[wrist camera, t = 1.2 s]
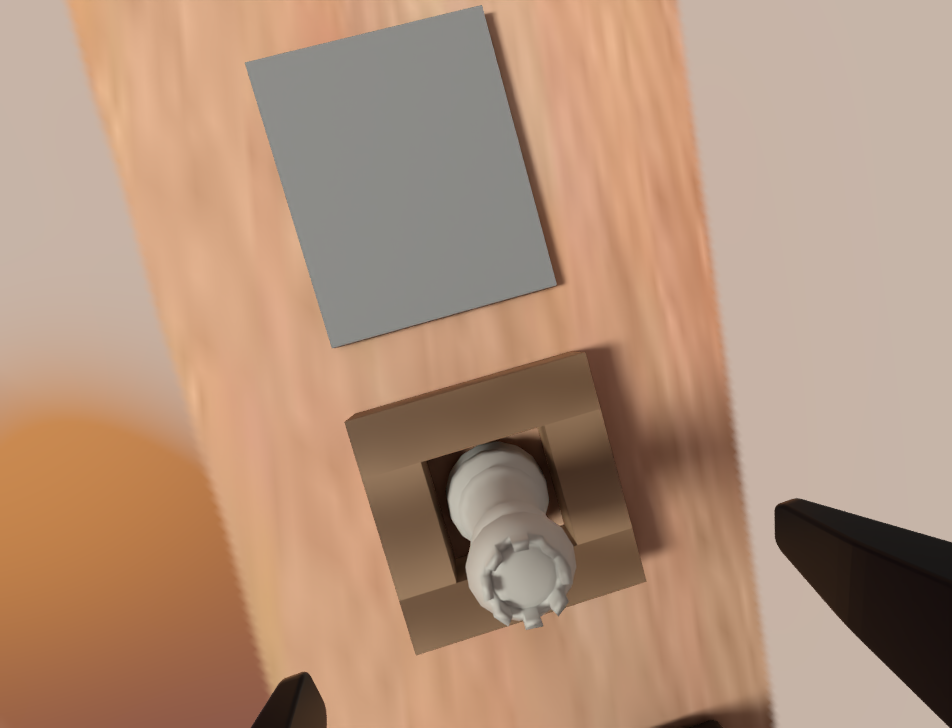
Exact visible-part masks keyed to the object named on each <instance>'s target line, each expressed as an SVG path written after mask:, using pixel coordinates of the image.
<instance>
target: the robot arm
mask: <svg viewBox="0 0 952 728" xmlns="http://www.w3.org/2000/svg"><path fill="white" fill-rule="evenodd" d="M775 539H776V542H777V545H778V547H779V548H780V550H781V551H782V553H783V554H784V555H785V556H786V557H787V558H788V560H789V561H790V562H791V563H792V564H793V565H794V566H795V568H796V569H797V570H798V571H799V572H800V573H801V575H802V576H803V577H804V578H805V579H806V580H807V581H808V583H809V584H810V585H811V586H812V587H813V588H814V589H815V590H816V592H817V593H818V594H819V595H820V596H821V598H822V599H823V600H824V601H825V602H826V603H827V604H828V606H829V607H830V608H831V609H832V610H833V611H834V612H835V614H836V615H837V616H838V617H839V618H840V619H841V620H842V621H843V622H844V623H845V625H846V626H847V627H848V628H849V629H850V630H851V631H852V632H853V633H854V634H855V635H856V636H857V637H858V638H859V639H860V640H861V641H862V642H863V643H864V644H865V645H866V646H867V647H868V648H869V649H870V650H871V651H872V652H874V654H875V655H876V656H877V657H878V658H879V659H880V660H881V661H882V662H883V663H885V664H886V666H888V667H889V668H890V669H891V670H892V671H893V672H894V673H895V674H896V675H897V676H898V677H899V678H900V679H901V680H902V681H903V682H904V683H905V684H906V685H907V686H908V687H909V688H910V689H911V690H912V691H913V692H914V693H915V694H916V695H917V696H918V697H919V698H920V699H921V700H922V701H923V702H924V703H925V704H926V705H927V706H928V707H929V708H930V709H931V710H932V711H933V712H934V713H935V714H936V715H937V716H938V717H939V718H940V719H942V720H943V721H944V722H945V723H946V724H947V725H948V726H949V727H950V728H952V542H948V541H945V540H941V539H938V538H935V537H931V536H928V535H924V534H921V533H917V532H914V531H911V530H907V529H903V528H900V527H897V526H893V525H890V524H886V523H883V522H879V521H875V520H872V519H869V518H865V517H862V516H859V515H855V514H852V513H848V512H845V511H841V510H838V509H834V508H831V507H827V506H824V505H820V504H817V503H813V502H810V501H807V500H803V499H798V498H796V499H791V500H788V501H785V502H783V503H780V504H778V505H777V506H776V507H775ZM251 728H327V715H326V708H325V704H324V701H323V699H322V697H321V695H320V693H319V691H318V689H317V687H316V685H315V684H314V682H313V680H312V678H311V676H310V675H309V673H307V672H301V673H298V674H295V675H292V676H290V677H287V678H285V679H283V680H282V681H281V682H280V683H279V684H278V686H277V687H276V689H275V690H274V692H273V694H272V695H271V697H270V698H269V700H268V701H267V703H266V705H265V706H264V708H263V709H262V711H261V712H260V714H259V716H258V717H257V719H256V720H255V722H254V724H253V725H252V727H251ZM690 728H723V727H722V726H721V724H720V723H719V722H717V721H714V720H711V721H707V722H704V723H701V724H699V725H696V726H693V727H690Z"/></svg>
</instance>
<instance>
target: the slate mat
mask: <svg viewBox="0 0 952 728" xmlns="http://www.w3.org/2000/svg"><path fill="white" fill-rule="evenodd" d="M245 65H246V68H247V71H248V75H249V78H250V81H251V85H252V88H253V91H254V94H255V98H256V101H257V104H258V107H259V111H260V114H261V117H262V121H263V124H264V127H265V130H266V134H267V137H268V140H269V144H270V147H271V150H272V153H273V157H274V160H275V163H276V166H277V170H278V173H279V176H280V180H281V183H282V186H283V189H284V193H285V196H286V199H287V203H288V206H289V209H290V212H291V216H292V219H293V222H294V225H295V229H296V232H297V235H298V239H299V242H300V245H301V248H302V252H303V255H304V258H305V262H306V265H307V268H308V271H309V275H310V278H311V281H312V285H313V288H314V291H315V294H316V298H317V301H318V304H319V307H320V311H321V314H322V317H323V321H324V324H325V327H326V330H327V334H328V337H329V340H330V344H331V347H332V348H336V347H340V346H344V345H347V344H351V343H354V342H358V341H361V340H365V339H369V338H372V337H376V336H379V335H383V334H386V333H390V332H394V331H397V330H401V329H404V328H408V327H411V326H415V325H418V324H422V323H426V322H429V321H433V320H436V319H440V318H443V317H447V316H451V315H454V314H458V313H461V312H465V311H468V310H472V309H476V308H479V307H483V306H486V305H490V304H493V303H497V302H501V301H504V300H508V299H511V298H515V297H518V296H522V295H525V294H529V293H533V292H536V291H540V290H543V289H547V288H550V287H554V286H556V285H557V284H556V280H555V276H554V272H553V269H552V265H551V261H550V257H549V254H548V250H547V246H546V242H545V239H544V235H543V231H542V228H541V224H540V220H539V216H538V213H537V209H536V205H535V201H534V198H533V194H532V190H531V186H530V183H529V179H528V175H527V172H526V168H525V164H524V160H523V157H522V153H521V149H520V145H519V142H518V138H517V134H516V130H515V127H514V123H513V119H512V115H511V112H510V108H509V104H508V101H507V97H506V93H505V89H504V86H503V82H502V78H501V74H500V71H499V67H498V63H497V59H496V56H495V52H494V48H493V45H492V41H491V37H490V33H489V30H488V26H487V22H486V18H485V15H484V11H483V7H482V5H480V6H476V7H472V8H468V9H463V10H459V11H455V12H451V13H447V14H443V15H439V16H435V17H430V18H426V19H422V20H418V21H414V22H410V23H406V24H402V25H398V26H393V27H389V28H385V29H381V30H377V31H373V32H369V33H365V34H361V35H356V36H352V37H348V38H344V39H340V40H336V41H332V42H328V43H323V44H319V45H315V46H311V47H307V48H303V49H299V50H295V51H291V52H286V53H282V54H278V55H274V56H270V57H266V58H262V59H258V60H254V61H249V62H245Z"/></svg>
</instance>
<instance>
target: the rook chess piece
mask: <svg viewBox="0 0 952 728" xmlns="http://www.w3.org/2000/svg"><path fill="white" fill-rule="evenodd" d="M445 492H446V498H447V504H448V509H449V513H450V518H451V519H452V521H453V522H454V524H455V526H456V527H457V529H458V530H459V532H460V533H461V535H462V536H463V537H465V538H466V539H468V540H469V541H471V543H470V544H471V545H470V549H469V554H468V558H467V562H466V573H467V579H468V584H469V588H470V590H471V592H472V593H473V595H474V596H475V598H476V599H477V601H478V602H479V604H480V605H481V606H482V607H484V608H485V609H487V610H488V611H490V612H491V613H493V616H494V618H496V619H497V620H499V621H501V622H502V623H504V624H505V625H507V626H509V624H510V622H511V620H516V621H522V620H523V622H524V625H525V629H526V630H527V629H532V628H537V627H542V626H543V623H542V621H541V618H540V617H541V616H542V615H544V614H545V613H547V612H549V611H550V610H553V611H554V612H555V613H556V614H557V615H558V616H559V615H560V614H561V612H562V611H563V609H564V608H565V607H566V605H567V604H568V602H569V601H568V598H567V596H566V594H567V593H568V591H569V590H570V588H571V587H572V584H573V578H574V574H575V570H576V561H575V554H574V548H573V545H572V543H571V541H570V540H569V538H568V537H567V535H566V533H565V532H564V530H563V529H562V527H560V526H559V525H557V524H556V523H554V522H553V521H551V520H550V519H549V518H548V517H547V516H546V512H547V507H548V503H549V495H548V489H547V482H546V479H545V477H544V476H543V472H542V470H541V469H540V467H539V466H538V464H537V462H536V461H535V459H534V458H533V456H531V455H530V454H528V453H527V452H526V451H524V450H523V449H521V448H520V447H518V446H517V445H512V444H508V443H503V442H498V441H497V442H492V443H486V444H481V445H477V446H476V447H474V448H473V449H471V450H470V451H468V452H466V453H465V454H463V455H462V456H461V457H460V458H459V460H458V461H457V463H456V464H455V465H454V467H453V468H452V470H451V471H450V473H449V478H448V482H447V486H446V491H445Z"/></svg>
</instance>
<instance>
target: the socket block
mask: <svg viewBox="0 0 952 728" xmlns="http://www.w3.org/2000/svg"><path fill="white" fill-rule="evenodd" d="M345 425H346V429H347V432H348V435H349V438H350V442H351V445H352V448H353V452H354V455H355V458H356V461H357V465H358V468H359V471H360V474H361V478H362V481H363V484H364V487H365V491H366V494H367V497H368V500H369V504H370V507H371V510H372V514H373V517H374V520H375V523H376V527H377V530H378V533H379V536H380V540H381V543H382V546H383V549H384V553H385V556H386V559H387V562H388V566H389V569H390V572H391V575H392V579H393V582H394V585H395V589H396V592H397V595H398V598H399V602H400V605H401V608H402V611H403V615H404V618H405V621H406V624H407V628H408V631H409V634H410V637H411V641H412V644H413V647H414V651H415V654H416V655H419V654H422V653H425V652H428V651H432V650H435V649H438V648H441V647H444V646H447V645H450V644H453V643H456V642H460V641H463V640H466V639H469V638H472V637H475V636H478V635H481V634H485V633H488V632H491V631H494V630H497V629H500V628H503V627H506V626H507V625H505V624H504V623H502V622H501V621H499V620H497V619H496V618H494V616H493V613H491V612H490V611H488V610H487V609H485V608H484V607H482V606H481V605H480V604H479V602H478V601H477V599H476V598H475V596H474V595H473V593H472V592H471V590H470V588H469V584H468V579H467V573H466V562H467V558H468V555H467V556H464V557H460V558H457V559H455V556H454V553H453V549H452V546H451V542H450V539H449V536H448V532H447V529H446V526H445V522H444V519H443V515H442V512H441V509H440V505H439V502H438V498H437V495H436V492H435V488H434V485H433V482H432V478H431V475H430V471H429V468H428V465H427V460H430V459H433V458H437V457H440V456H443V455H447V454H450V453H453V452H457V451H460V450H464V449H467V448H470V447H474V446H477V445H480V444H484V443H487V442H490V441H494V440H497V439H501V438H504V437H507V436H511V435H514V434H517V433H521V432H524V431H527V430H531V429H534V428H538V431H539V434H540V438H541V442H542V445H543V449H544V453H545V456H546V460H547V463H548V467H549V471H550V474H551V478H552V481H553V485H554V489H555V492H556V496H557V500H558V503H559V507H560V510H561V514H562V518H563V521H564V525H563V526H560V527H562V529H563V530H564V532H565V533H566V535H567V537H568V538H569V540H570V541H571V543H572V545H573V548H574V554H575V561H576V570H575V574H574V578H573V584H572V587H571V588H570V590H569V591H568V593H567V594H566V596H567V598H568V601H569V602H568V604H567V605H566V607H569V606H572V605H575V604H578V603H581V602H584V601H587V600H590V599H594V598H597V597H600V596H603V595H606V594H609V593H612V592H615V591H619V590H622V589H625V588H628V587H631V586H634V585H637V584H640V583H643V582H647V581H646V578H645V574H644V570H643V566H642V563H641V559H640V555H639V551H638V548H637V544H636V540H635V536H634V533H633V529H632V525H631V521H630V518H629V514H628V510H627V506H626V503H625V499H624V495H623V491H622V487H621V484H620V480H619V476H618V472H617V469H616V465H615V461H614V457H613V454H612V450H611V446H610V442H609V439H608V435H607V431H606V427H605V424H604V420H603V416H602V412H601V409H600V405H599V401H598V397H597V394H596V390H595V386H594V382H593V379H592V375H591V371H590V367H589V363H588V360H587V356H586V352H575V351H571V352H567V353H564V354H560V355H557V356H553V357H550V358H546V359H543V360H540V361H536V362H533V363H529V364H526V365H522V366H519V367H515V368H512V369H508V370H505V371H501V372H498V373H495V374H491V375H488V376H484V377H481V378H477V379H474V380H470V381H467V382H463V383H460V384H456V385H453V386H450V387H446V388H443V389H439V390H436V391H432V392H429V393H425V394H422V395H418V396H415V397H412V398H408V399H405V400H401V401H398V402H394V403H391V404H387V405H384V406H380V407H377V408H373V409H370V410H367V411H363V412H360V413H356V414H354V415H353V416H352V417H350V418H349V419H348V420H346V421H345ZM566 607H565V608H566ZM550 612H553V610H550V611H549V612H547V613H550ZM547 613H545V614H547ZM522 621H523V620H522ZM522 621H516V620H511V622H510V624H509V625H513V624H516V623H519V622H522Z"/></svg>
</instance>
